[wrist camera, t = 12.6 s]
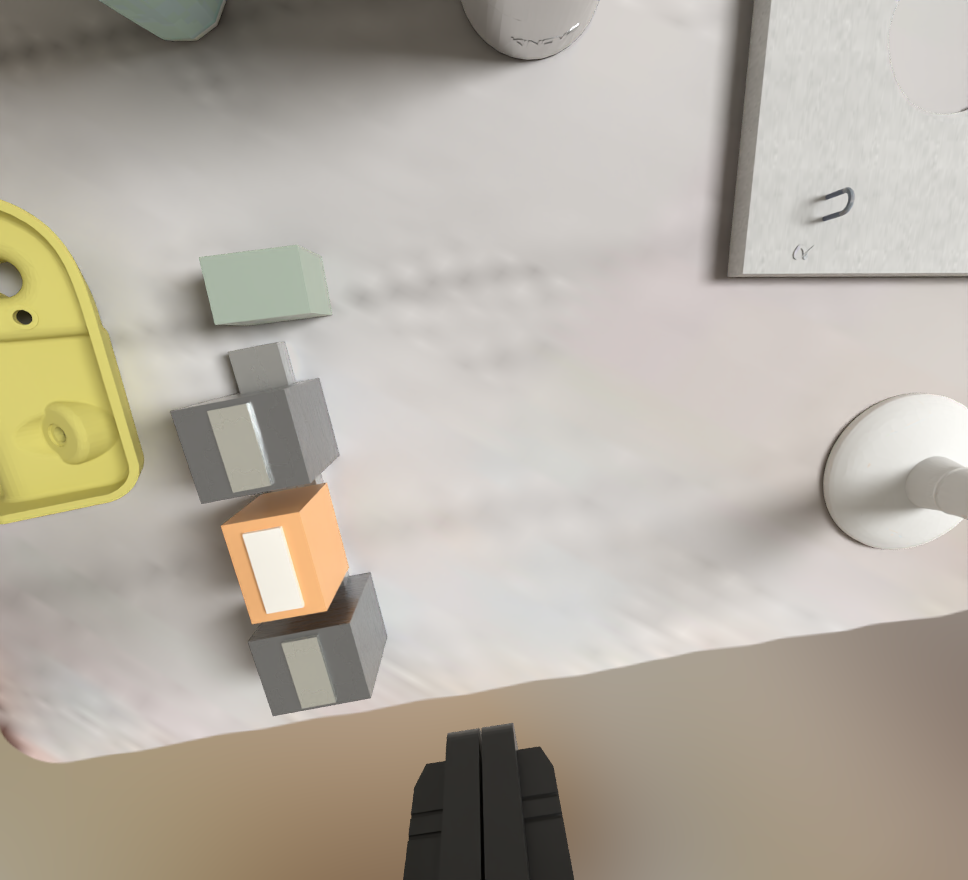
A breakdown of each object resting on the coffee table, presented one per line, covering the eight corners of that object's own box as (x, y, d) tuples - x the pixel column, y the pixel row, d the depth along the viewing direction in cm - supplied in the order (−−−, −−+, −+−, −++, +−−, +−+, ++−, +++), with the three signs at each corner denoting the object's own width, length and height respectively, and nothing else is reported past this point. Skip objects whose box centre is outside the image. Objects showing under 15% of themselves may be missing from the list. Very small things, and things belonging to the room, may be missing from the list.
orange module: (260, 494, 36) (218, 527, 30) (326, 482, 36) (297, 513, 30) (285, 578, 38) (250, 626, 32) (349, 567, 38) (325, 613, 32)
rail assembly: (214, 355, 35) (150, 362, 28) (308, 337, 35) (267, 339, 28) (308, 662, 41) (275, 731, 34) (389, 647, 41) (373, 713, 34)
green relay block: (237, 267, 34) (198, 257, 29) (321, 256, 34) (297, 244, 29) (250, 325, 35) (214, 324, 30) (332, 315, 35) (310, 312, 30)
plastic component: (147, 494, 35) (-37, 532, 31) (158, 466, 42) (5, 494, 37) (59, 192, 29) (-184, 188, 25) (86, 213, 36) (-104, 212, 32)
